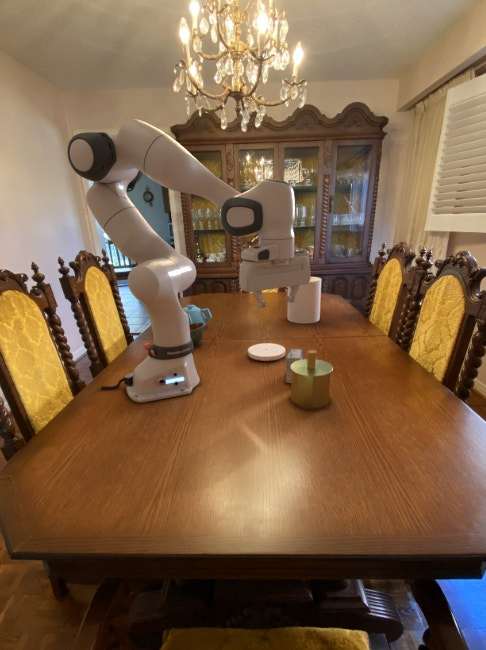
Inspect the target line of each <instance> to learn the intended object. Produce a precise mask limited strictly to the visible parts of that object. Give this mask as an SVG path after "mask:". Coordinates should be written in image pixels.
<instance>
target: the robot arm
mask: <svg viewBox="0 0 486 650" xmlns="http://www.w3.org/2000/svg"><path fill="white" fill-rule="evenodd" d="M66 151H67V160H68V163H69V165H70V167H71V168H72V170H73V171H74V172H75V173H76V174H77V175H78V176H80V177H81V178H83V179H85V180H87V181H89V182H93V183H92V185H91V186H90V187H89V188H88V190H87V191H86V194H85V201H86V204H87V207H88V208H89V211H90V212H91V214H92V215H93V218H94V219H95V220H96V222H97V223H98V225H99V226H100V228H101V229H102V230H103V232H104V233H105V235H107V237H108V239H110V241H111V242H112V243H113V244H114V246H115V247H116V249H117V250H118V251H119V253H121V255H123V256H124V257H125V258H126V259H130V260H132V261H134V262H136V263H137V265H136V266H135V267H133V268H132V269H131V270H130V271H129V273H128V276H127V285H128V289H129V292H130V293H131V295H132V296H133V297H134V298H135V299H137V300H138V301H139V302H141V303H142V305H143V307H144V308H145V310H146V313H147V315H148V317H149V321H150V326H151V334H152V333H153V336H152V338H153V339H152V340H153V342H152V343H151V344H150V343H149V342H145V343H144V344H143V349H144V350H145V351H146V352H147V353H148V356H147V357H145V359H144V360H143V361H141V363H139V364H138V365H137V366H136V367H135V368H134V370H133V372H130V373H128V374H125V375H124V376H123V377H122V378H121V379H119V381H118V382H117V383H116V385H112V386H109V385H107V386H106V385H102V386H100V389H101V390H115V389H117V388H119V387H121V385H122V383H123V382H124V385H125V386H126V394H127V396H128V397H129V398H130V399H131V400H132V401H134V402H136V403H147V402H152V401H153V402H154V401H158V400H164V399H169V398H173V397H180V396H185V395H189V394H191V393H192V391H193V389H194V388H196V387H197V386H198V385H199V384H200V382H201V378H200V376H199V373H198V371H197V368H196V364H195V360H194V352H195V351H194V348H193V343H192V339H191V338H190V327H189V317H188V314H187V313H186V312H185V311H184V310H182V309H183V308H182V305H181V303H180V300H179V293H182V292H184V291H186V290H187V289H189V288H190V287H191V286H192V284H193V283H194V282H195V280H196V277H197V269H196V265H195V263H194V261H193V260H191V259H190V258H189V257H187V256H185V255H183V254H181V253H180V252H178V250H176V249H175V248H174V247H172V245H170V244H169V243H168V242H167V241H166V240H164V239H163V238H162V237H161V236H160V235H159V234H158V233H157V232H156V231H155V230H154V229H153V227H152V226H151V225H150V224H149V222H148V221H147V220H146V219H145V217H144V216H143V215H142V213H141V212H140V210H139V209H138V208H137V206H135V204H134V203H133V202H132V201H131V199H130V198H129V196H128V193H131V192H132V191H134V190H135V187H136V185H137V184H138V183H139V182H140V180H141V179H142V177H143V175H144V176H145V177H148V178H149V179H150V180H151V181H153V182H154V183H156V184H157V185H160V186H162V187H163V188H166V189H168V190H170V191H175V192H178V193H185V194H190V195H195V196H198V197H201V198H203V199H205V200H207V201H209V202H210V203H212V204H214V206H217V207H218V208H219V209H220V212H219V220H220V221H219V222H220V225H221V227H222V229H223V230H224V231H225V232H226V233H227V234H228V235H230V236H231V237H235V238H247V237H248V238H249V237H258V243H256V244H254V245H252V246H250V247H248V248H245V249H243V250H242V251H241V253H240V256H241V257H240V258H241V259H242V260H243V261H242V262H241V264H240V266H239V279H238V280H239V288H240V290H242V292H245V293H252V295H253V297H254V298H255V300H256V305H257V308H259V309H262V308H266V307H267V306H266V305H267V302H266V300H264V299H263V298H262V296H263V291H268V290H276V289H282V288H288V287H289V286H290V288H291V292H290V294H289V295H288V294H287V295H286V302H287V303H288V302H289V303H292V302H295V296H296V294H297V292H298V290H299V285H303V284H308V283H309V281H310V279H311V277H312V276H311V263H310V253H309V250H307V249H305V248H303V247H302V248H295V232H294V224H295V220H296V203H295V192H294V189H293V186H292V185H291V184H290V183H289V182H287V181H285V180H281V179H276V178H262V179H261V180H259V181H258V183H257V184H255V186H253V187H252V188H250V189H249V190H247V191H244V192H240V191H239V190H237V189H236V188H235V187H233V186H231V185H230V184H229V183H227V182H225V181H224V180H223V179H221V178H220V177H218V176H217V175H216V174H214V173H212V172H211V171H210V170H209V169H208V168H207V167H205V166H204V164H202V163H201V162H200V161H199V160H198V159H197V158H196V157H195V156H193V155H192V153H191V152H190V151H188V150H187V149H186V148H185V147H184V146H183V145H181V143H179V142H178V141H176V140H175V139H174V138H173V137H171V136H170V135H169V134H167V133H165V132H164V131H163V130H161V129H159V128H157V127H155V126H154V125H152V124H150V123H148V122H146V121H144V120H141V119H138V118H130V119H127V120H126V121H124V122H123V123H122V125H121V126H120V127H119V129H118V131H117V133H116V135H112V136H110V135H109V134H108V133H107V132H105V131H98V132H97V131H96V132H94V131H86V132H80V133H77V134H75V135H73V136H72V137H71V138H70V140H69V142H68V145H67V150H66Z"/></svg>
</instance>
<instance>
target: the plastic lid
mask: <svg viewBox="0 0 486 650" xmlns="http://www.w3.org/2000/svg"><path fill="white" fill-rule="evenodd" d="M247 355H248V357H249V358H251V359H252V360H256V361H264V362H268V361H269V362H270V361H276V360H280V359H282V358H283V357H285V355H286V348H285V347H284V346H283V345H281V344H278V343H273V342H272V343H271V342H264V343H263V342H262V343H257V344H253V345H251V346H249V347H248V349H247Z"/></svg>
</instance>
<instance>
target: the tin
mask: <svg viewBox="0 0 486 650" xmlns="http://www.w3.org/2000/svg"><path fill="white" fill-rule="evenodd" d="M290 385H291V387H290V391H291V392H290V399H291V401H292V403H293V404H294V405H296V406H297V407H300V408H303V409H309V410H310V409H311V410H313V409H320V408H323V407H326V405H328V404H329V400H330V390H331V389H330V388H331V387H330V385H331V374H329V375H327V376H324V377H317V378H311V377H303V376H300V375H297V374H295V373H293V372H292V379H291V383H290Z"/></svg>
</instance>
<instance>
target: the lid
mask: <svg viewBox="0 0 486 650" xmlns="http://www.w3.org/2000/svg"><path fill="white" fill-rule="evenodd" d="M317 351H318V350H315V349H309V350H307V358H302V360H298V361H295V362H293V363H292V364H291V371H292V372H293V373H295V374H297V375H300V376H303V377H311V378H317V377H324V376H327V375H329V374H330V375H331V374H332V373H333V371H334V367H333V365H332V364H331V363H329V362H328V361H325V360H322V359H318V358H317V355H318V352H317Z"/></svg>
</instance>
